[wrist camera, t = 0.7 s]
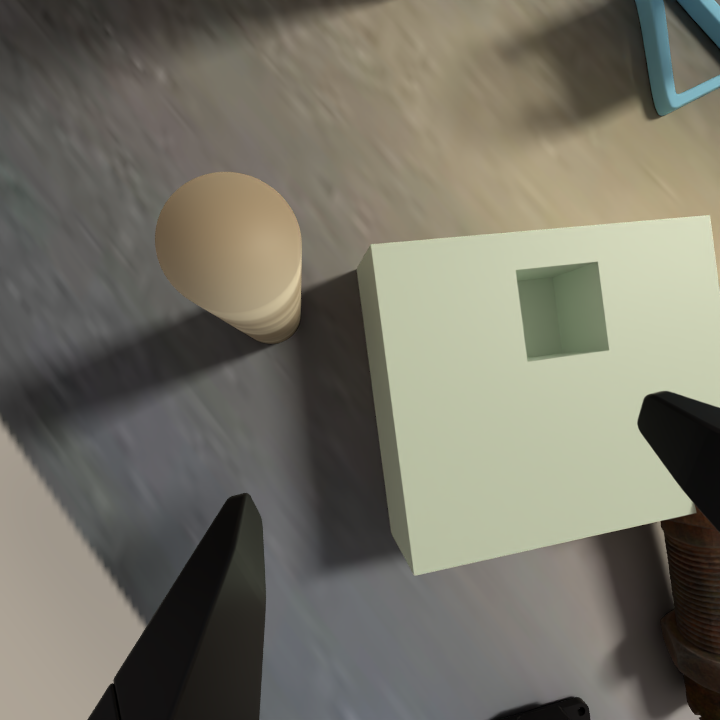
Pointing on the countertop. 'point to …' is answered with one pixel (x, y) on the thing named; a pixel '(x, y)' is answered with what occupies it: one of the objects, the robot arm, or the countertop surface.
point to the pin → (234, 253)
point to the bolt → (695, 609)
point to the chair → (656, 43)
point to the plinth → (533, 380)
